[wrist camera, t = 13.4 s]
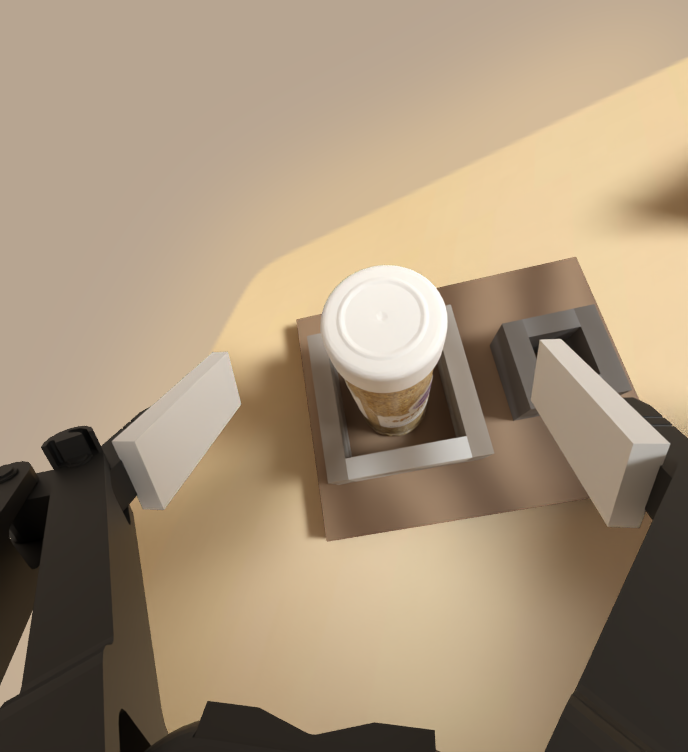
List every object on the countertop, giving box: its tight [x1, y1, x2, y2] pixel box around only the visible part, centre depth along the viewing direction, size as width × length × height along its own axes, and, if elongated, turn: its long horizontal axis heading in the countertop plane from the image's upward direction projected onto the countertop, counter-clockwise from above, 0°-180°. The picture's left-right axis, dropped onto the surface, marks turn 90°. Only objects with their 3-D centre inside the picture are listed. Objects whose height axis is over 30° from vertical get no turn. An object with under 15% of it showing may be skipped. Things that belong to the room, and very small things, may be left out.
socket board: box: [297, 257, 639, 541], centre depth 24 cm, size 21×16×5 cm
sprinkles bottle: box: [321, 265, 448, 436], centre depth 19 cm, size 5×5×13 cm
